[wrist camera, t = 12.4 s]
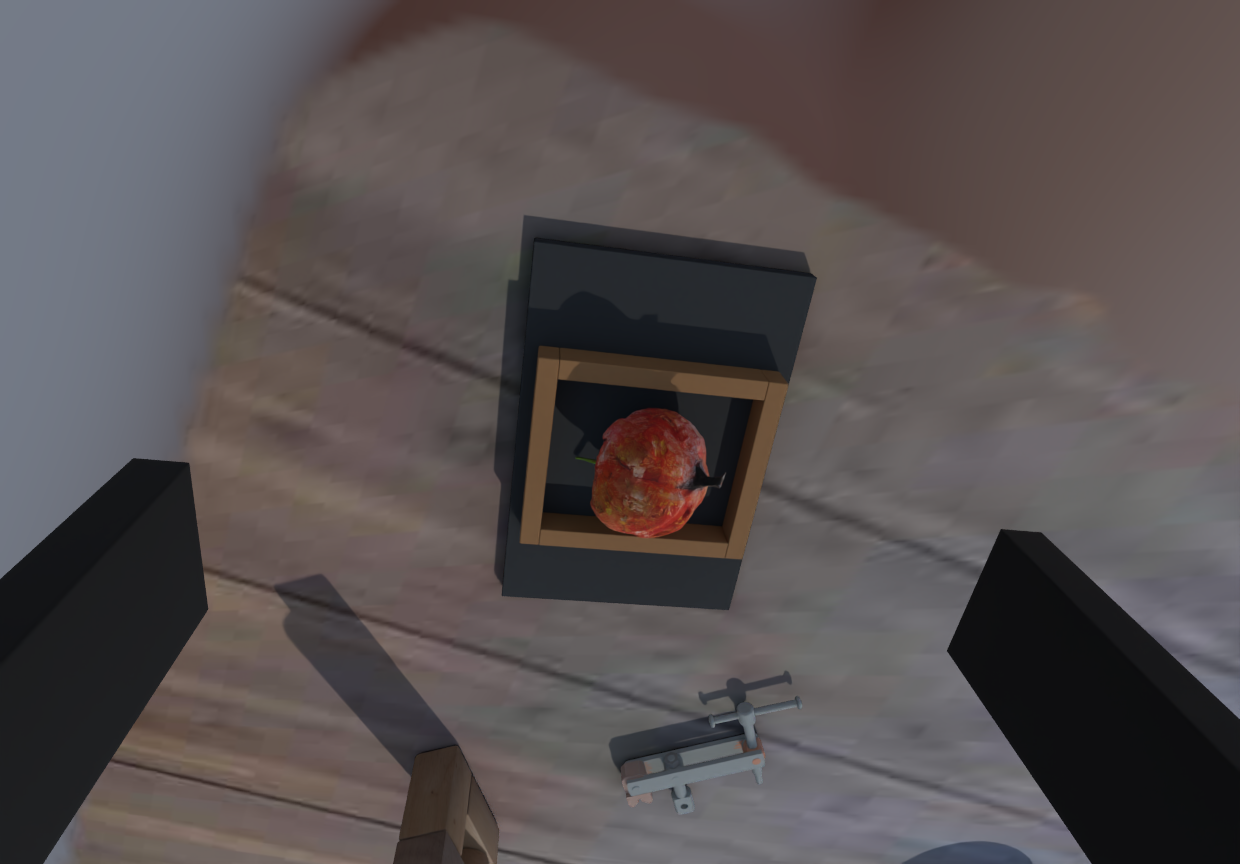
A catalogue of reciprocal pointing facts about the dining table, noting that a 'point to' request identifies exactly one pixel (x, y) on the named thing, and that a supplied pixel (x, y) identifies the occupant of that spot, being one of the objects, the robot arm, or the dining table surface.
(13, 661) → the robot arm
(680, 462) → the red round lump
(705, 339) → the back pad
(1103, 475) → the dining table surface
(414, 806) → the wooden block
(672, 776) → the clamp
